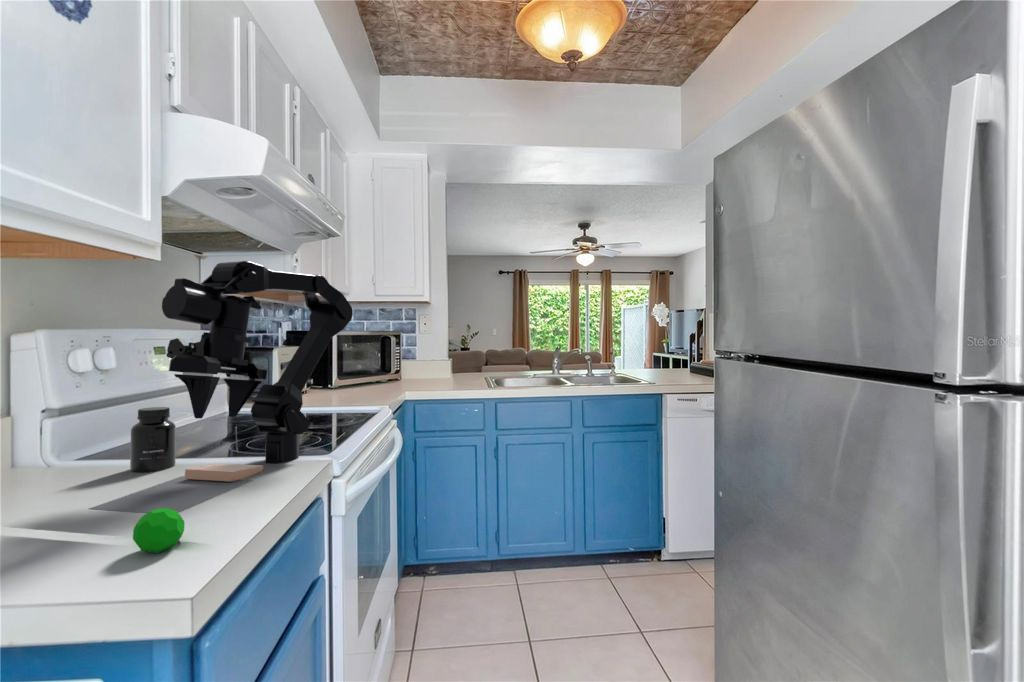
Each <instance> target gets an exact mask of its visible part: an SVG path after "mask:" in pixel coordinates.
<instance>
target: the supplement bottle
mask: <svg viewBox="0 0 1024 682" xmlns="http://www.w3.org/2000/svg"><path fill="white" fill-rule="evenodd" d="M170 410H171V409H170V407H169V406H168V407H167V406H157V407H156V406H155V407H154V406H153V407H143V408H139V409H138V410H137V420H138V422H137V423H135V424H133V426H132V427H131V429H130V452H129V453H130V454H129V455H130V458H129V460H130V462H129V463H130V464H129V467H130V468H129V471H130V472H131V473H135V474H136V473H137V474H141V473H142V474H144V473H146V474H147V473H154V472H160V471H165V470H168V469H172V468H173V467H175V466H176V439H177V438H176V435H177V433H176V431H177V429H176V424H175V423H174V422H173V421H171V420H169V418H170V417H171V414H170Z"/></svg>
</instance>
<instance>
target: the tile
mask: <svg viewBox="0 0 1024 682" xmlns="http://www.w3.org/2000/svg"><path fill="white" fill-rule="evenodd" d="M262 471H264V465H262V464H261V465H258V464H257V465H256V464H240V463H239V464H238V463H222V462H221V463H215V464H209V465H203V466H198V467H192V468H191V467H190V468H186V469H185V470H184V476H185V477H184V479H196V480H213V481H230V482H231V481H235V480H244V479H245V478H248V477H251V476H252V475H253V476H254V475H255V474H257V473H259V472H262Z"/></svg>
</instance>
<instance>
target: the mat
mask: <svg viewBox="0 0 1024 682" xmlns="http://www.w3.org/2000/svg"><path fill="white" fill-rule="evenodd" d="M184 477H185V475H182V476H178V477H176V478H173V479H170V480H167V481H164V482H162V483H159V484H155V485H153V486H150V487H147V488H144V489H142V490H138V491H135V492H133V493H130V494H126V495H124V496H121V497H118V498H115V499H112V500H109V501H107V502H104V503H101V504H98V505H95V506H91V507H89V508H88V510H95V511H97V510H98V511H107V512H110V511H111V512H123V513H124V512H127V513H137V514H138V513H140V514H147V513H149V512H150V511H153V510H156V509H159V508H167V509H171V510H175V511H177V512H178V513H179V514H180V513H181V512H184V511H185V510H189V509H191V508H192V507H195V506H197V505H200V504H202V503H204V502H206V501H209V500H212V499H213V498H216V497H218V496H220V495H222V494H223V495H224V494H226V493H228V492H230V491H232V490H235V489H237V488H239V487H241V486H244V485H246V484H248V483H251V482H253V481H254V480H253V479H240V480H235V481H231V482H230V481H213V480H196V479H184Z"/></svg>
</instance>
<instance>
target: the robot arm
mask: <svg viewBox="0 0 1024 682" xmlns="http://www.w3.org/2000/svg"><path fill="white" fill-rule="evenodd" d="M328 281H329V280H327V279H326V277H325V276H324V275H321V274H309V273H308V274H306V273H297V272H296V273H295V272H288V271H287V272H286V271H279V270H271V269H268V267H266V266H265V265H262V264H259V263H255V262H253V261H249V260H241V261H240V260H239V261H229V262H228V261H227V262H219V263H217V264H216V265H215V266H214V267H213V270H212V272H211V274H210V275H209V276H208V277H207V278H206V279H204V280H203V281H202V282H201V283H199V282H195V281H193V280H192V279H189V278H183V277H181V278H175V280H174V285H173V286H172V287H170V288H169V289H168V290H167V292H166V294H165V296H164V297H163V298H162V301H161V311H162V314H163V315H164V316H165V317H166V318H167V319H169V320H176V321H180V322H186V323H191V324H196V325H203V326H207V325H208V324H210V328H209V332H206V331H205V332H203V334H201V337H200V341H196V342H191V341H190V342H187V340H185V339H182V338H178V337H177V338H174V339H173V338H172V339H171V340H169V343H168V346H167V349H166V350H167V351H166V352H167V353H166V357H167V358H169V359H170V360H169V361H170V362H169V366H168V372H173V373H174V372H175V373H174V374H173V375H174V378H178V379H180V381H181V382H182V383H183V384H184V385H185V386H186V388H187V393H188V396H189V400H190V403H191V408H192V412H193V416H194V418H195V419H203V418H204V416H205V413H206V411H207V409H208V407H209V405H210V403H211V400H212V399H213V398H212V397H213V396H214V393H215V391H216V389H217V386H218V383H219V381H220V379H221V377H220V376H214V375H218V374H225V375H226V377H227V378H223V381H224V382H225V384H226V385H227V386H228V388H229V391H228V392H229V393H228V394H229V395H228V417H229V418H235V417H237V416H238V414H239V413H240V411H241V410H242V408H243V407H244V405H245V404H246V402H247V401H248V400H249V398H250V397H251V395H252V394H253V393H254V391H255V390H256V389H257V387H258V386H259V385H261V384H262V383H263V380H267V376H268V375H267V374H268V369H267V368H266V367H265V366H264V365H263V364H257V363H249V360H248V359H244V356H245V347H246V344H251V342H252V338H251V337H248V336H247V335H248V327H249V321H250V320H249V318H250V313H251V310H252V311H253V310H254V311H255V310H261V309H262V306H261V305H260V303H259V302H257V300H256V299H255V297H254V296H253V295H246V296H242V297H240V296H237V295H235V294H251V293H258V292H265V291H278V292H281V291H282V292H294V293H295V292H296V293H297V292H298V293H302V295H303V296H304V301H305V305H306V307H307V309H308V311H309V312H310V314H309V329H308V331H307V333H306V334H305V336H304V337H303V339H302V341H301V343H300V345H299V346H298V348H297V349H296V351H295V353H294V354H293V356H292V358H291V359H290V361H289V362H288V363H287V366H286V368H285V369H284V371H283V372H282V374H281V375H280V378H279V379H278V381H276V382H275V383H273V384H270V383H269V384H267V383H264V384H262V385H261V387H260V389H259V391H258V393H257V395H256V396H255V397H254V398H253V399H251V402H253V404H252V406H251V409H250V413H251V417H252V420H253V421H254V423H255V426H256V428H257V432H258V433H266V434H265V445H264V446H265V449H264V450H265V458H264V459H265V460H264V463H265V464H273V465H275V464H276V465H277V464H283V463H286V462H291V461H295V460H297V459H299V456H300V453H301V452H300V450H301V449H300V435H302V434H303V433H306V432H308V431H309V427H310V424H311V423H310V420H309V418H307V417H306V415H305V414H304V413H303V412H302V411H301V409H302V407H303V390H304V388H305V386H306V384H307V383H308V381H309V380H310V377H311V375H312V374H313V372H314V370H315V368H316V366H317V365H318V363H319V361H320V359H321V357H322V355H323V354H324V352H325V351H326V349H327V346H328V345H329V343H330V341H331V340H332V338H333V337H335V336H336V335H338V334H339V333H341V332H342V331H343V330H345V328H346V327H347V326H348V324H349V323H350V322H351V320H352V319H353V314H354V311H353V308H352V306H351V304H350V302H349V301H348V299H346V296H344V294H343V293H342V292H341V291H340V290H338V289H336V288H335V287H334V286H333V285H332V284H330V282H328ZM317 294H318V295H320V296H321V298H323V299H319V298H318V296H317ZM221 295H227V296H225V297H222V296H221ZM178 373H181V374H178ZM261 380H262V381H261Z"/></svg>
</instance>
